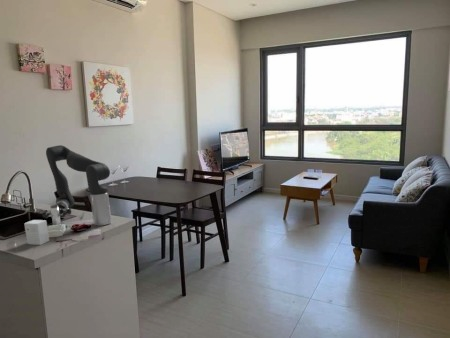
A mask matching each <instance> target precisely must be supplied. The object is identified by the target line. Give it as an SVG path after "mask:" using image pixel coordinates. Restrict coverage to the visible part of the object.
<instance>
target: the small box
mask: <svg viewBox="0 0 450 338" xmlns="http://www.w3.org/2000/svg"><path fill="white" fill-rule="evenodd" d="M23 224H24V231H25V236H26V243H27V245H35V246H36V245H38V246H41V245H43V244H45V243H48V242H50V238H49V235H48V228H47V226H48V222H47V220H45V219H44V220H43V219H32V220H29V221H27V222H25V223H23Z"/></svg>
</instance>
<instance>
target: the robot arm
mask: <svg viewBox="0 0 450 338" xmlns="http://www.w3.org/2000/svg"><path fill="white" fill-rule="evenodd" d="M45 151H46V152H45V156H46V159H47V163H48V165H49V168H50V171H51V173H52V177H53V180H54V183H55V184H54V185H55V189H56V193H57V194H58V195H64V196H60V197H57V198H56V200H55V203H54V205H56V204H58V205H59V213H60V217H66V216H68V215H71V214H72V207H73V206H74V205H75V199H74V197H73V195H72V193H71V190H70V187H69V181H68V178H67V177H66V176H65V174H64V173H63V172H62V171H61V170H60V169H59V168H58V166H57V162H60V161H61V162H62V161H66V166H67V167H68V168H71V170H74V171H77V172H80V173H85V174H86V181H87V187H88V191H89V195H90V196H89V197H90V205H91V213H92V222H93V225H94V226H96V225H97V226H101V227H102V226H106V225H110V224H112V215H111V213H112V212H111V206H110V205H111V204H110V199H109V190H108V187H107V186H105V185H100V181H105V180H106V179H108V178H109V177H110V175H111V171H110V168H109V166H108V165H107V164H105V163H103V162H100V161H96V160H92V159H91V158H89V157H86V156H84V155H82V154H80V153H77V152H75V151H73V150H70V149H69V148H68V147H66V146H64V145H53V146H49V147H47V148H46V150H45ZM49 217H51V218H52V215H51V209H50V210H47V209H46V210H44V211H43V212H42V218H44V219H49ZM97 226H96V227H97Z"/></svg>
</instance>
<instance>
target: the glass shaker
mask: <svg viewBox="0 0 450 338" xmlns="http://www.w3.org/2000/svg"><path fill="white" fill-rule="evenodd" d="M55 204H56V203H55ZM55 204H51V205H50V210H51V215H52V217H51V219H52V220H51V221H52V225H60V224H62V223H61V222H62V221H61V216H60V213H59V205H58V204H56V205H55Z"/></svg>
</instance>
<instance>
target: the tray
mask: <svg viewBox="0 0 450 338" xmlns="http://www.w3.org/2000/svg"><path fill="white" fill-rule="evenodd" d="M47 228H48V235H49V239H50V238H57V237H62V236H63V235H64V233H65V232H66V223H61V224H60V225H53V224H52V225H47Z"/></svg>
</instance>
